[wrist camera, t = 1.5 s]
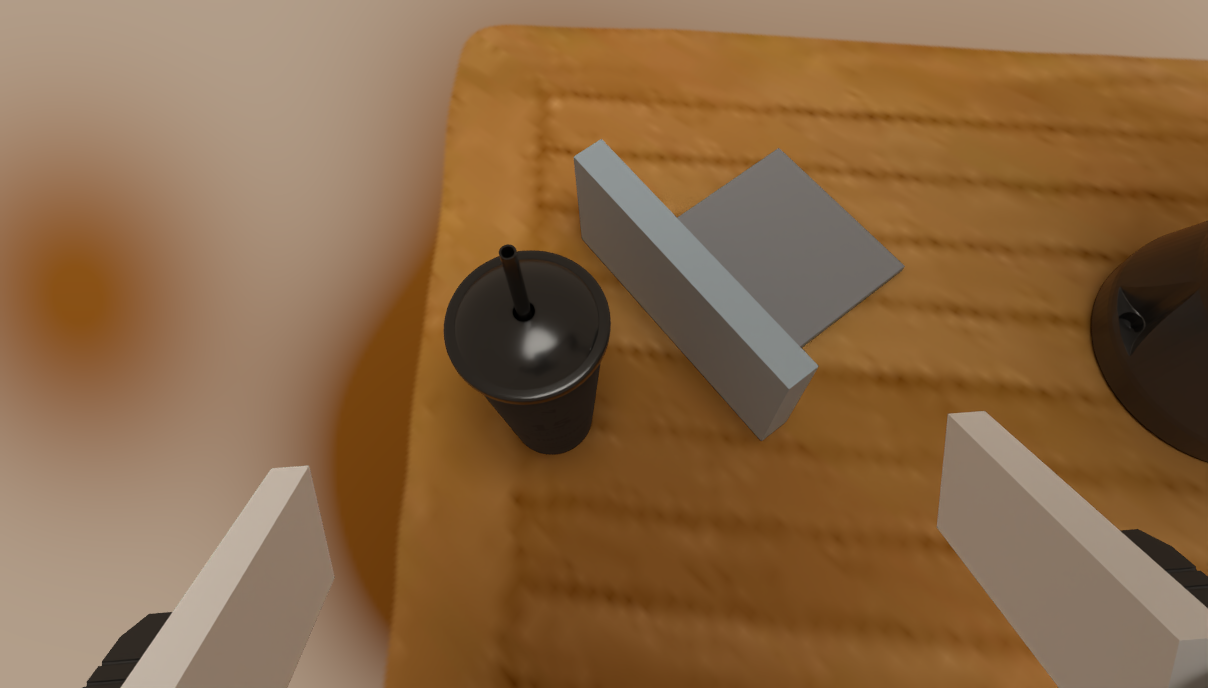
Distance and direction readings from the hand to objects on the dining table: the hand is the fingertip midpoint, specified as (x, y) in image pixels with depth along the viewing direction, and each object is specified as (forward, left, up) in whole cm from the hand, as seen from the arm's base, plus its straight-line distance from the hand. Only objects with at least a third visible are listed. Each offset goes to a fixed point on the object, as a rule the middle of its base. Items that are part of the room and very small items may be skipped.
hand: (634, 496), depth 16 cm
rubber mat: (-21, -12, -30) cm, 39 cm away
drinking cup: (-3, -12, -30) cm, 33 cm away
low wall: (-13, -12, -30) cm, 35 cm away
